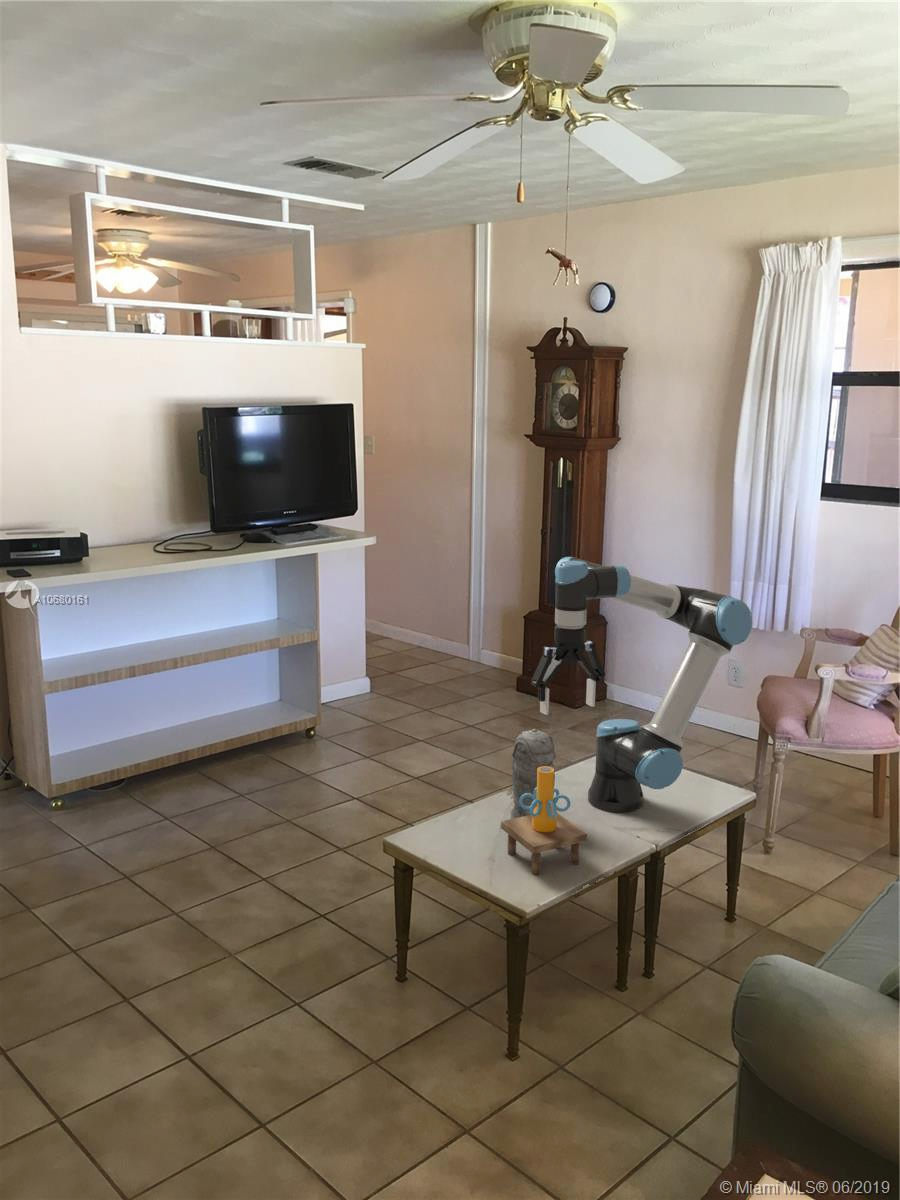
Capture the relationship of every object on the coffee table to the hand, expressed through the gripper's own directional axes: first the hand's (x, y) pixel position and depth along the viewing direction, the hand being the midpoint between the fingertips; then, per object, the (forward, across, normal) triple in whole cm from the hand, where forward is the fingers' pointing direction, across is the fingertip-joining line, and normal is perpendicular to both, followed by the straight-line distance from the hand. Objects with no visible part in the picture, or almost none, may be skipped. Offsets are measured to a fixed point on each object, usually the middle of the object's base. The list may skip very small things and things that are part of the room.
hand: (567, 709), depth 236 cm
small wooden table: (+35, +10, +6) cm, 37 cm away
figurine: (+35, +1, -14) cm, 38 cm away
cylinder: (+27, +10, +6) cm, 29 cm away
